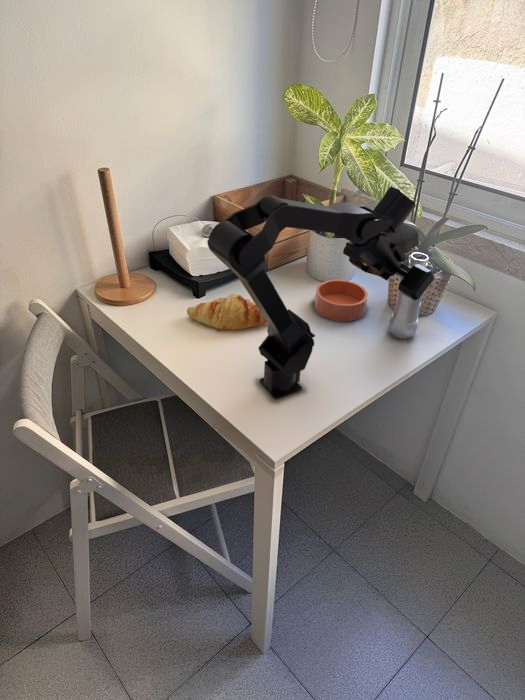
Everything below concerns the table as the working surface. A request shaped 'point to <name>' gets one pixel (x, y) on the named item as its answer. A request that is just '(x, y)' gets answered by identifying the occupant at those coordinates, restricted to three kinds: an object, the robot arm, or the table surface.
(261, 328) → the table surface
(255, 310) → the croissant
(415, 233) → the robot arm
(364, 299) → the bowl
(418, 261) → the plastic bottle
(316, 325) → the table surface
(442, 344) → the table surface
